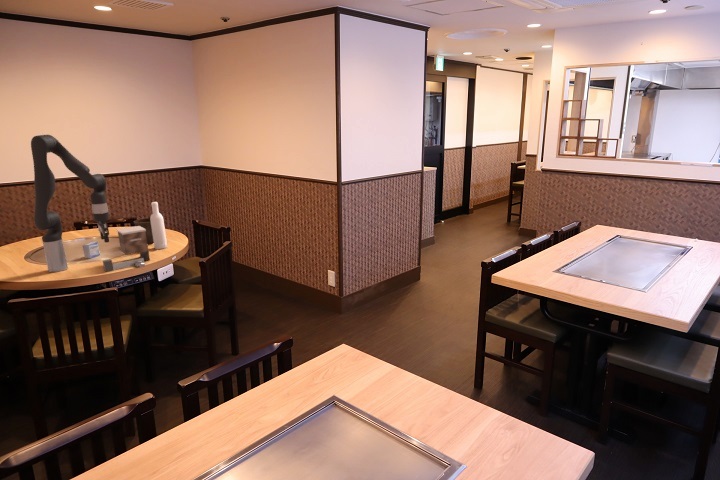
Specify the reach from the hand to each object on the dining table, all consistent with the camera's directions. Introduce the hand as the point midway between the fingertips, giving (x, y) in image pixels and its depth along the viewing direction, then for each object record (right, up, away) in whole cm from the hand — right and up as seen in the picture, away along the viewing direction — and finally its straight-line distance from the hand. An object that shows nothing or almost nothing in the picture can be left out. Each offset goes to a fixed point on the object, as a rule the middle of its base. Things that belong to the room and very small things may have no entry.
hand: (105, 240), depth 256 cm
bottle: (+10, -5, +49) cm, 50 cm away
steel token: (+14, -15, +11) cm, 23 cm away
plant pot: (-4, -2, +62) cm, 62 cm away
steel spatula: (+6, -15, +9) cm, 19 cm away
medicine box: (-26, -10, +33) cm, 43 cm away
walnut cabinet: (+7, -12, +22) cm, 26 cm away
